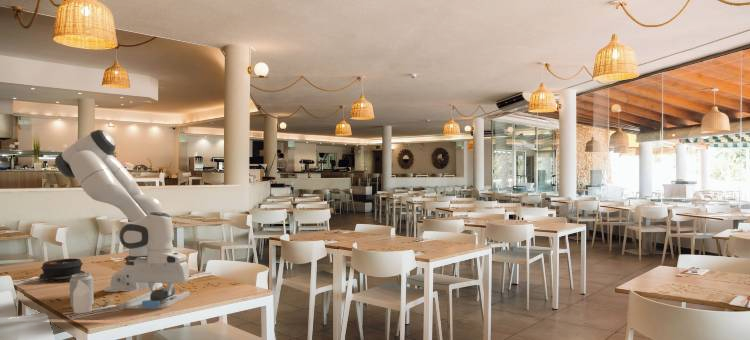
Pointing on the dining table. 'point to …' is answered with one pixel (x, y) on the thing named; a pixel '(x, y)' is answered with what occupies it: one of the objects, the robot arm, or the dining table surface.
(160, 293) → the dark grey capsule
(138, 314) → the dining table surface
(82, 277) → the can
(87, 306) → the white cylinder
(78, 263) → the casserole
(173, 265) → the robot arm
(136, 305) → the grey shallow tray
